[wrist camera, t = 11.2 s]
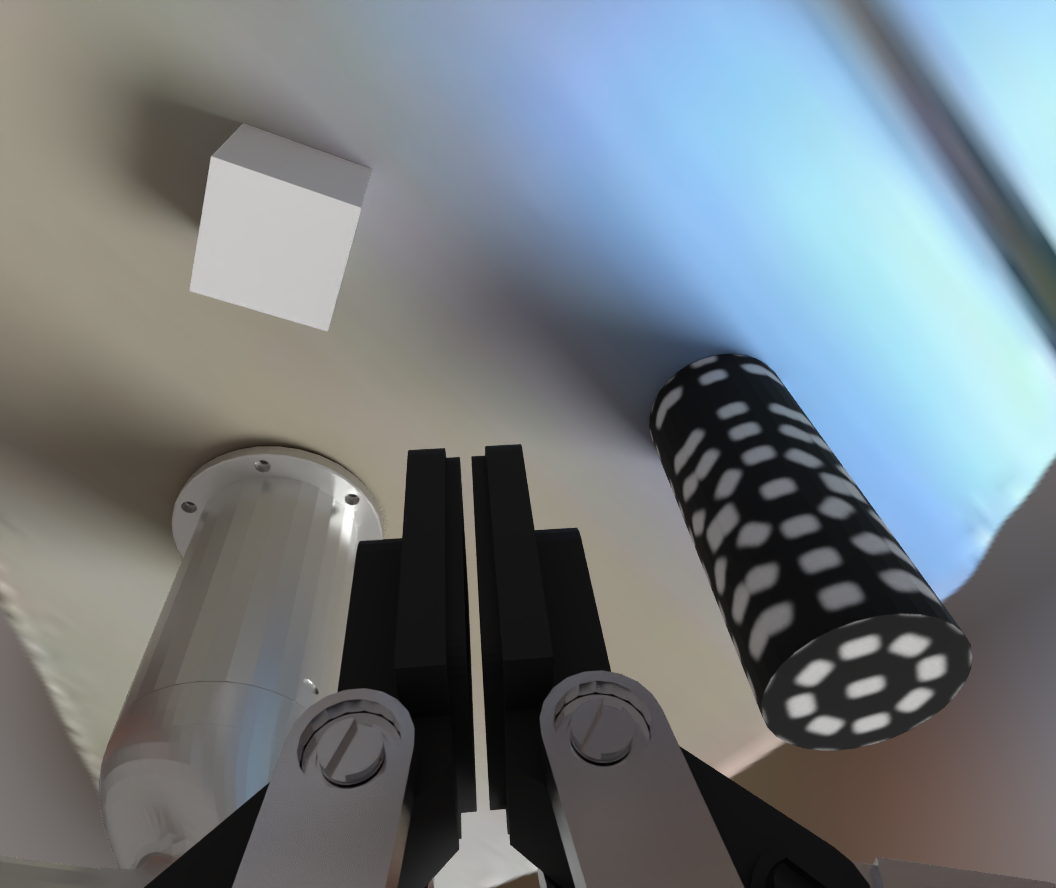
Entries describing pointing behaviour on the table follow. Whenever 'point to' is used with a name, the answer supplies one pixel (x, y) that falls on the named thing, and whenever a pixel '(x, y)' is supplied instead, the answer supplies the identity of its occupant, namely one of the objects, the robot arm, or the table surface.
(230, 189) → the white cube
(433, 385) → the table surface
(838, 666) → the spotted tube
